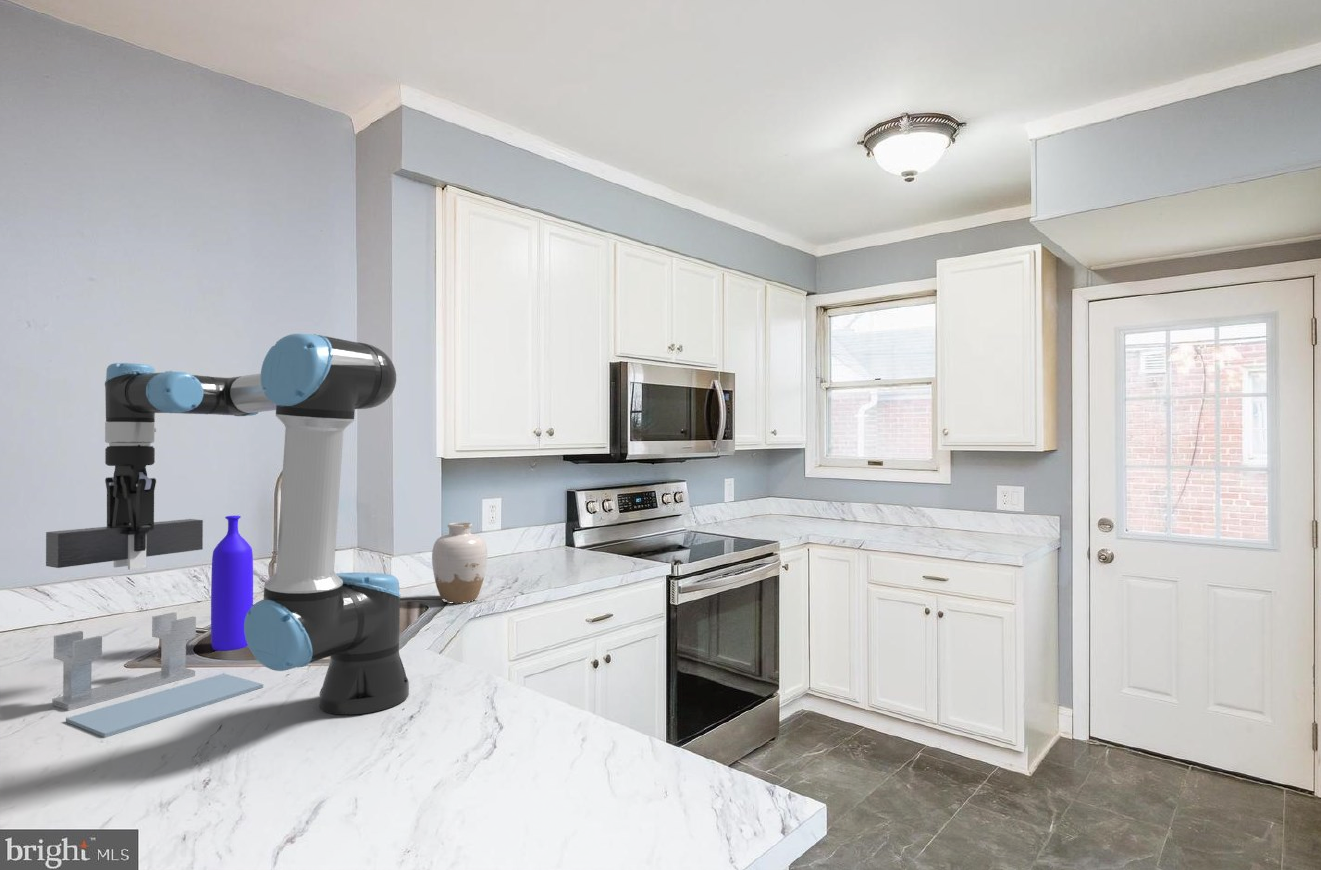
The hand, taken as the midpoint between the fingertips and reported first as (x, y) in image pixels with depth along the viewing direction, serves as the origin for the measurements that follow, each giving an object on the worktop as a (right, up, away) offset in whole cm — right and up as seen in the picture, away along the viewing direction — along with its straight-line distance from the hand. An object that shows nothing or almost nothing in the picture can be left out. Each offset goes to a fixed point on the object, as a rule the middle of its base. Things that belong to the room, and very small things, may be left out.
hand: (129, 566), depth 133 cm
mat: (+13, -23, -7) cm, 28 cm away
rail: (0, +2, 0) cm, 2 cm away
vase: (+41, -24, +75) cm, 89 cm away
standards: (0, -23, 0) cm, 23 cm away
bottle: (+2, -24, +28) cm, 37 cm away
